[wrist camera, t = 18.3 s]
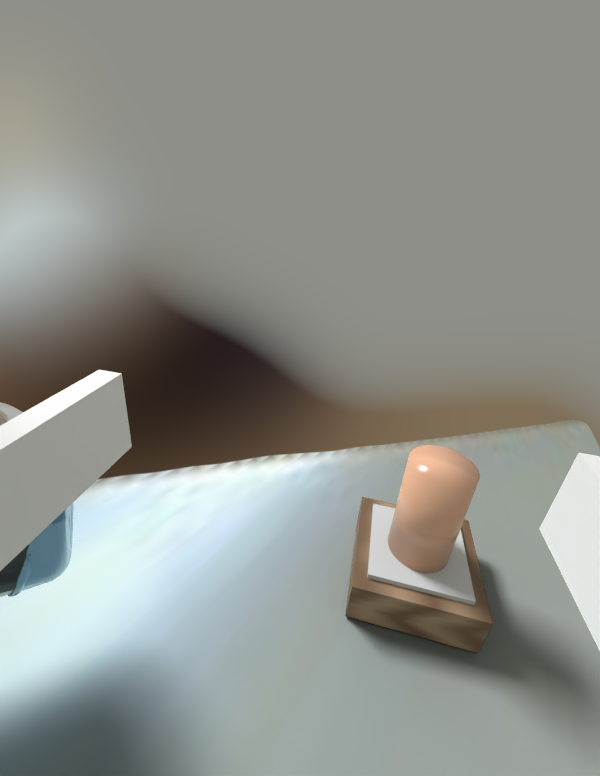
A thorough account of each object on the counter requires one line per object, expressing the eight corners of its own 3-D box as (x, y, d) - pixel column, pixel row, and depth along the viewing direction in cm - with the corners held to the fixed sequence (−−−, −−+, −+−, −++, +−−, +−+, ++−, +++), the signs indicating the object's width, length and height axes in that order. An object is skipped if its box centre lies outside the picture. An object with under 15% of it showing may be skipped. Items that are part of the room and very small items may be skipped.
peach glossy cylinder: (387, 564, 41) (410, 479, 36) (388, 518, 47) (408, 440, 42) (452, 580, 40) (486, 494, 35) (444, 531, 46) (472, 452, 41)
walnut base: (345, 616, 41) (352, 582, 39) (356, 523, 54) (363, 493, 51) (477, 653, 39) (494, 620, 36) (458, 547, 51) (469, 517, 49)
